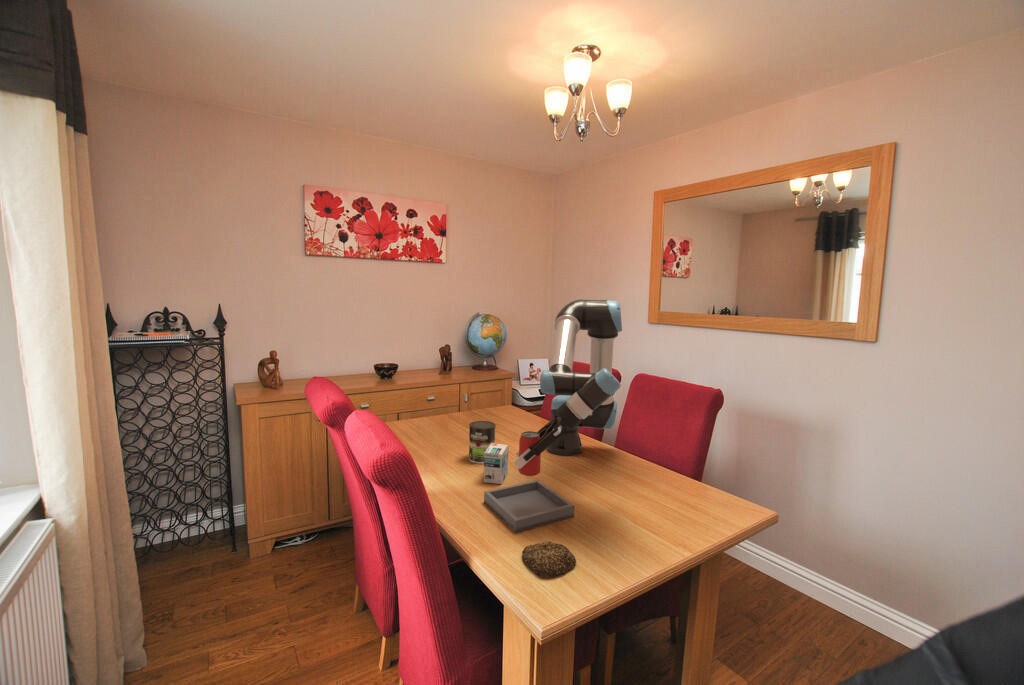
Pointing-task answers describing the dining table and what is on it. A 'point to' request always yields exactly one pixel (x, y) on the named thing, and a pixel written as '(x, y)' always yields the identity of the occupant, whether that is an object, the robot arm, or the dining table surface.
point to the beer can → (525, 441)
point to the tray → (528, 505)
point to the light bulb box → (496, 463)
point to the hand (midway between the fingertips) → (517, 460)
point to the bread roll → (548, 559)
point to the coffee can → (480, 439)
